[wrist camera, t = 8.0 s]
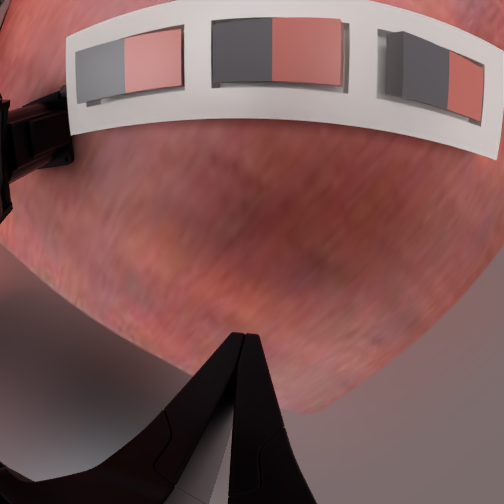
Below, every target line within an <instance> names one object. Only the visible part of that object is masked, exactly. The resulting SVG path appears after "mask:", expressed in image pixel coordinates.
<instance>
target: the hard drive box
mask: <svg viewBox="0 0 504 504" xmlns="http://www.w3.org/2000/svg"><path fill="white" fill-rule="evenodd" d="M10 2H11V0H0V27H1V24H2V22H3V19H4V16H5V13H6V11H7V10H8V7H9V4H10Z"/></svg>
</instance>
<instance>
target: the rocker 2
mask: <svg viewBox="0 0 504 504" xmlns="http://www.w3.org/2000/svg"><path fill="white" fill-rule="evenodd" d="M343 67H344V26H343V24H342V21H341V19H335V18H312V17H289V18H266V19H253V20H243V21H235V22H227V23H220V24H214V25H213V83H239V82H283V83H304V84H318V85H329V86H338V87H343Z"/></svg>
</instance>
